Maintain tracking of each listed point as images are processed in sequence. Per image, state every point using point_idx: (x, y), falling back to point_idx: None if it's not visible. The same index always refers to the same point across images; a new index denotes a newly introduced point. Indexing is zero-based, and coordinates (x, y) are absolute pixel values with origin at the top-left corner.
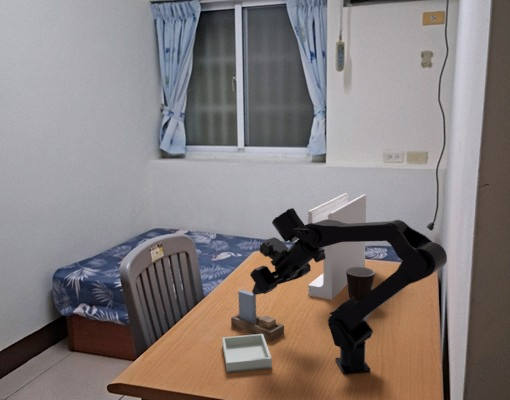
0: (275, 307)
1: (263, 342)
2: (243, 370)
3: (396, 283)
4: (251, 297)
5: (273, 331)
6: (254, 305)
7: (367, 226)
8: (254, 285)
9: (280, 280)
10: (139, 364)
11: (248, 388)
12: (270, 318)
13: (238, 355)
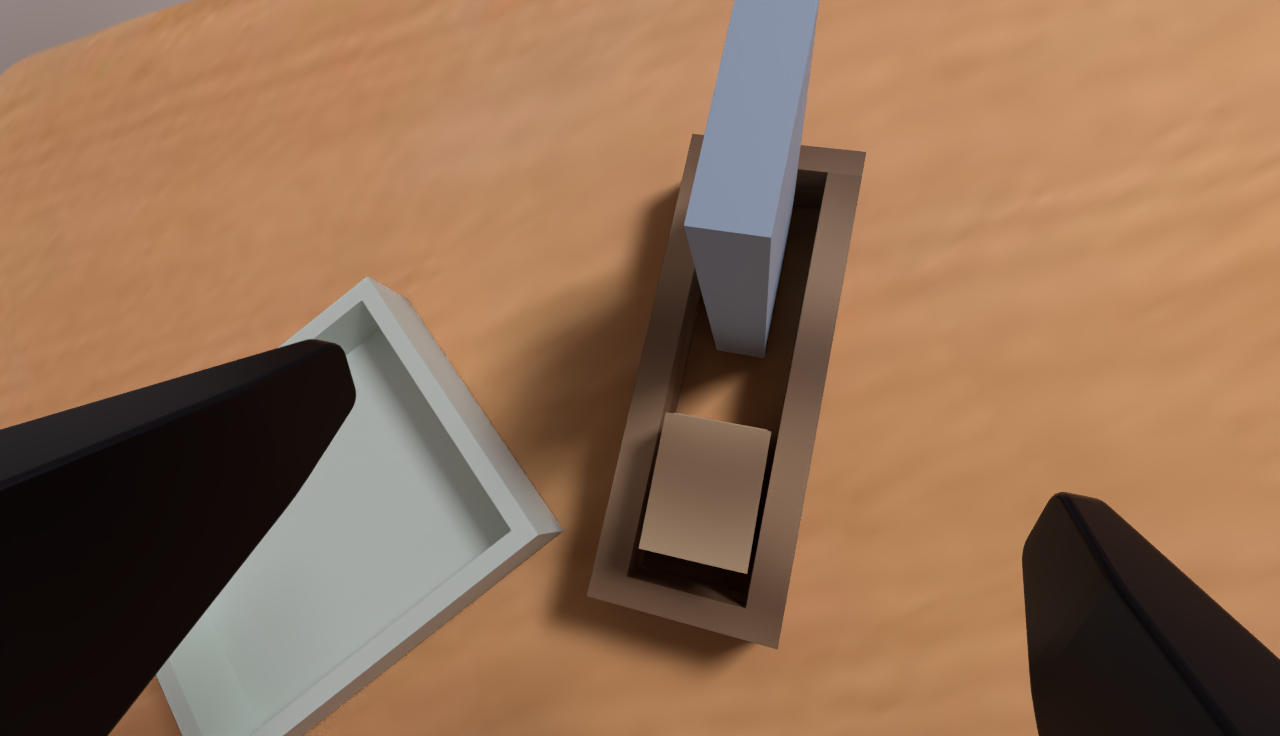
0: (1265, 296)
1: (411, 609)
2: None
3: None
4: (686, 232)
5: (617, 604)
6: (742, 289)
7: None
8: (19, 431)
9: (1079, 731)
10: (113, 44)
11: None
12: (730, 515)
13: (312, 471)
